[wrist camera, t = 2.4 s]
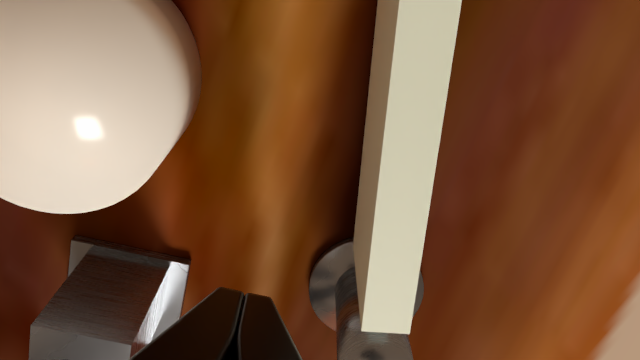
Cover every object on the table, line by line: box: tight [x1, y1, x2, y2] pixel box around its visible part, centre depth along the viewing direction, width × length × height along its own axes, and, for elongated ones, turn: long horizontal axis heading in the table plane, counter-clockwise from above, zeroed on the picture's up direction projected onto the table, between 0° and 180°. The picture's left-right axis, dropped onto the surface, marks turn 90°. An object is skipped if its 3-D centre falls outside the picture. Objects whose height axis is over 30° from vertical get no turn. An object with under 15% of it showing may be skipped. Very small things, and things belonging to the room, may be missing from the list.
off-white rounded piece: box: [0, 0, 202, 214], centre depth 17 cm, size 7×7×4 cm
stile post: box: [29, 235, 191, 360], centre depth 20 cm, size 4×4×5 cm
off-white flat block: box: [353, 0, 462, 334], centre depth 16 cm, size 11×1×5 cm, turn 176°
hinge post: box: [309, 237, 424, 360], centre depth 20 cm, size 4×4×5 cm
